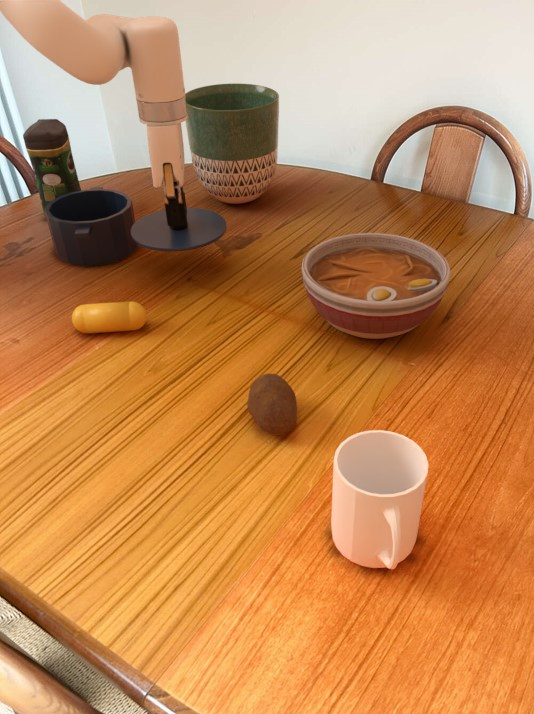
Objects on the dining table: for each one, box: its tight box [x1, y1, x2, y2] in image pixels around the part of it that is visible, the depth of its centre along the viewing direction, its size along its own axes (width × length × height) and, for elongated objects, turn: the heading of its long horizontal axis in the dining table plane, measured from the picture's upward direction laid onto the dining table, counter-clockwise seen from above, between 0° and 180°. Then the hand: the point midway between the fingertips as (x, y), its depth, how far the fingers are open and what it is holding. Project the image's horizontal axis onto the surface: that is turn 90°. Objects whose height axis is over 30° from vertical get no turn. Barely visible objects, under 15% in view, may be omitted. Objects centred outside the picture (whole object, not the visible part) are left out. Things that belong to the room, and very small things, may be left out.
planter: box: [184, 83, 280, 205], centre depth 139 cm, size 20×20×21 cm
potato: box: [246, 373, 298, 436], centre depth 86 cm, size 7×10×6 cm
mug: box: [330, 429, 429, 570], centre depth 68 cm, size 10×12×12 cm
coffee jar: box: [22, 118, 82, 218], centre depth 134 cm, size 10×8×19 cm
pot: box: [44, 186, 139, 267], centre depth 125 cm, size 16×21×8 cm
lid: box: [131, 188, 228, 253], centre depth 113 cm, size 17×17×8 cm
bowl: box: [301, 232, 452, 340], centre depth 104 cm, size 23×23×10 cm
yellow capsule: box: [71, 301, 148, 334], centre depth 104 cm, size 12×5×5 cm, turn 96°
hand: (177, 219), depth 114 cm, fingers closed on lid, 3 cm apart
